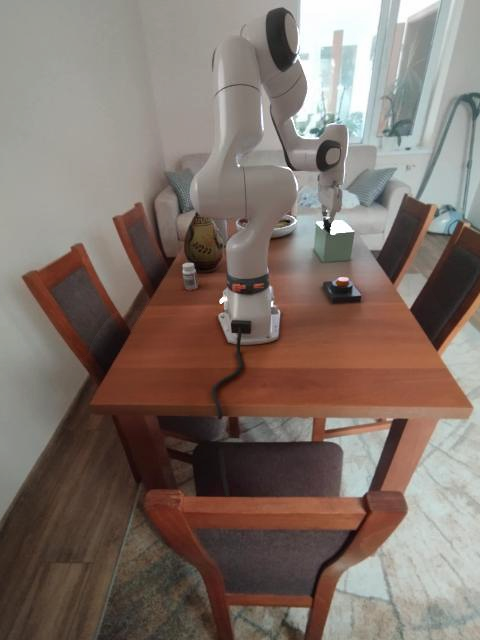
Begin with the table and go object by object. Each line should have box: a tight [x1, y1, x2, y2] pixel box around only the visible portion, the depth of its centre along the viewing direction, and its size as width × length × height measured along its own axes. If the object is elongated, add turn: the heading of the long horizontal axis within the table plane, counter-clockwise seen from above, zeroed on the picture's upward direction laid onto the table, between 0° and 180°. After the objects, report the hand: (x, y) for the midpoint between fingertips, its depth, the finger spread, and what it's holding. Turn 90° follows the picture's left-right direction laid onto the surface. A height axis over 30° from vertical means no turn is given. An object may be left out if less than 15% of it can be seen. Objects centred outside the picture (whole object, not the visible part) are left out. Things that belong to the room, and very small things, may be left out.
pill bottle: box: [182, 262, 199, 291], centre depth 115 cm, size 5×5×8 cm
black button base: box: [322, 278, 363, 305], centre depth 107 cm, size 12×9×4 cm
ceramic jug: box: [183, 211, 225, 274], centre depth 122 cm, size 17×15×30 cm
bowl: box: [235, 214, 297, 239], centre depth 164 cm, size 30×30×8 cm
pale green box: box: [313, 220, 355, 263], centre depth 133 cm, size 18×11×11 cm, turn 4°
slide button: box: [322, 217, 332, 227], centre depth 129 cm, size 2×3×3 cm
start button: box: [336, 276, 350, 286], centre depth 105 cm, size 4×4×2 cm
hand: (327, 219), depth 128 cm, fingers open, 8 cm apart
